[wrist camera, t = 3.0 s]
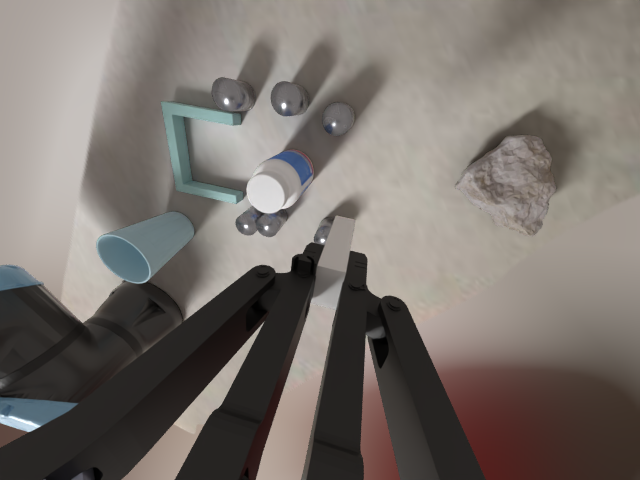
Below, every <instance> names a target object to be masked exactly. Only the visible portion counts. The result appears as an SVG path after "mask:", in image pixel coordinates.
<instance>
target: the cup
mask: <svg viewBox="0 0 640 480" xmlns="http://www.w3.org/2000/svg"><path fill="white" fill-rule="evenodd" d="M193 236H194V227H193V225H192V223H191V222H190V220H189V219H188V218H187V217H186V216H184V215H183V214H181V213H179V212H174V211H173V212H168V213H165V214H162V215H159V216H156V217H153V218H151V219H148V220H145V221H142V222H139V223H136V224H133V225H131V226H128V227H125V228H122V229H119V230H116V231H113V232H110V233H107V234H104V235H102V236H100V237H99V238H98V240H97V243H96V248H97V252H98V255H99V257H100V258H101V260H102V261H103V263H104V264H105V265H106V266H107V268H108V269H109V270H111V271H112V272H113V273H114V274H115V275H117V276H118V277H120V278H122V279H124V280H126V281H128V282H132V283H145V282H147V281H148V280H149V279H150V278H151V277H152V276H153V275H154V274H155V273H156V272H157V271H158V270H159V269H160V268H161V267H162V266H163V265H165V264H166V263H167V262H168V261H169V260H170V259H171V258H172V257H173V256H174V255H175V254H176V253H177V252H178V251H179V250H180V249H181V248H183V247H184V246H185V245H186V244H187V243H188V242H189V241H190V240H191V239H192V238H193Z"/></svg>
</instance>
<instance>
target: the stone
mask: <svg viewBox="0 0 640 480" xmlns="http://www.w3.org/2000/svg"><path fill="white" fill-rule="evenodd" d="M551 162H552V158H551V156H550V154H549V152H548V151H546V148H545V146H544V145H543V140H542V139H541V138H539V137H537V136H529V135H516V136H507V137H505V138H504V139H503V141H502V142H501V143H500V144H499V145H498V147H496V148H495V149H493V150H491V151H489V152H488V153H486V154H485V155H484V156H483V157H482V158H480V159H478V161H476V162H474V163H472V164H471V165H469V166H468V167H467V168H466V169H465V170H464V171H463V173H462V176H461V179H460V180H459V181H458V182H457V183H456V184H455V187H456V188H455V189H457V190H462V192H463V193H464V194H465V195H466V196H467V198H468V199H469V200H470V201H471V203H472V204H473V205H475V206H478V207H479V208H480V209H482V210H484V211H486V212H489V213H490V214H491V215H492V218H493V222H494V224H496V225H498V226H501V227H503V226H506V227H509V229H512V230H517V231H519V233H522V234H524V235H528V236H534V235H535V234H536V233H537V232H538V230H540V229H541V227H542V225H543V223H542V220H543V219H544V217H545V215H546V214H547V211H548V206H549V203H548V202H549V199H550V197H551V196H552V195H553V194H554V193H555V191H556V189H557V188H556V186H555V182H554V176H553V175H552V173H551V170H550V165H551Z"/></svg>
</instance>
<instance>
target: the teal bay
mask: <svg viewBox="0 0 640 480" xmlns="http://www.w3.org/2000/svg"><path fill="white" fill-rule="evenodd" d="M161 106H162V112H163V117H164V123H165V129H166V134H167V140H168V145H169V151H170V157H171V162H172V168H173V174H174V179H175V185H176V190H177V191H180V192H184V193H189V194H193V195H198V196H203V197H207V198H212V199H216V200H221V201H225V202H230V203H234V204H237V203H238V202H240V201H241V200H243V191H239V190H234V189H229V188H225V187H220V186H215V185H210V184H206V183H201V182H196V181H192V175H191V168H190V161H189V154H188V146H187V139H186V132H185V125H184V118H183V117H189V118H194V119H200V120H205V121H211V122H216V123H221V124H227V125H232V126H234V125H241V114H239V113H233V112H227V111H222V110H216V109H211V108H205V107H199V106H194V105H188V104H182V103H177V102H164V101H161Z"/></svg>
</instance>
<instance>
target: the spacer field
mask: <svg viewBox="0 0 640 480" xmlns="http://www.w3.org/2000/svg"><path fill="white" fill-rule="evenodd" d="M212 96H213V99H214V102H215V103H216V105H217V106H218V107H219V108H220V109H222V110H224V111H248V110H250V109H251V108H252V107H253V106H254V103H255V93H254V90H253V89H252V87H251V86H250V85H249V84H248V83H246V82H243V81H238V80H234V79H229V78H223V77H222V78H218V79H217V80H215V82H214V83H213V86H212ZM271 103H272V106H273V108H274V110H275V111H276V112H277V113H278V114H280V115H282V116H294V115H301V114H303V113H304V112H305V111H306V110H307V108H308V105H309V97H308V94H307V92H306V90H305V89H304V88H303V87H301V86H299V85H296V84H293V83H290V82H286V81H282V82H279V83H277V84H276V85H275V86H274V88H273V90H272V92H271ZM354 119H355V115H354V111H353V109H352V108H351V107H350V106H349V105H348V104H345V103H340V102H335V103H332V104H330V105H329V106H327V107H326V109H325V110H324V112H323V116H322V124H323V127H324V129H325V130H326V131H327V132H328V133H329V134H331V135H333V136H340V135H342V134H344V133H346V132H347V131H348V130H349V129H350V128H351V127H352V125H353V123H354ZM286 220H287V213H286V211H285V210H284V209H280V210H279V211H277V212H275V213H264V212H261V211H259V210H257V209H256V208H255V207H254V206H251V207H250V208H249V209H248V210H246V211H245V212H244V213H243V214H241V215H240V216H239V217H238V218H237V219H236V227H237V229H238V230H239V231H240V232H241V233H242V234H244V235H253V234H254V233H255V232H256V231H257V230H258V231H259V232H260V233H261V234H262V235H263V236H266V237H272V236H274V235H276V233H277V232H278V231H279V230H280V228H281V227H282V226H283V224H284V223H285V222H286ZM333 222H334V218H325V219H323V220H322V221H321V223H320V225H319V227H318V230H317V232H316V234H315V236H314V242H315V243H317V244H321V245H325V243H326V241H327V238H328V235H329V233H330V230H331V227H332V225H333Z"/></svg>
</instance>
